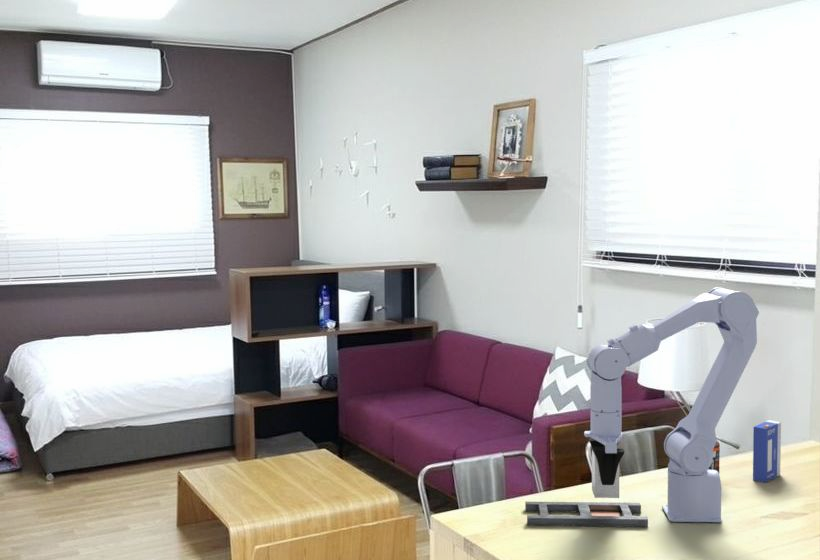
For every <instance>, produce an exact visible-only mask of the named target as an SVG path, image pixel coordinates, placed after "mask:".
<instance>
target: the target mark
mask: <svg viewBox="0 0 820 560" xmlns="http://www.w3.org/2000/svg"><path fill="white" fill-rule="evenodd" d="M590 512H591V515H592V516H621V515H620V513H619V512H594V511H590Z"/></svg>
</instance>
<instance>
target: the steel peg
mask: <svg viewBox="0 0 820 560" xmlns="http://www.w3.org/2000/svg"><path fill="white" fill-rule="evenodd" d="M591 491H592V494H593V496H594V498H596V499H599V498H600V499H619V498H620V464H619V465H618V468H617V472H616V477H615V482H614V485H602V482H601V478H600V472H599V465H598V461H597V458H596V455H595V453H594V451H593V449H591Z"/></svg>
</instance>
